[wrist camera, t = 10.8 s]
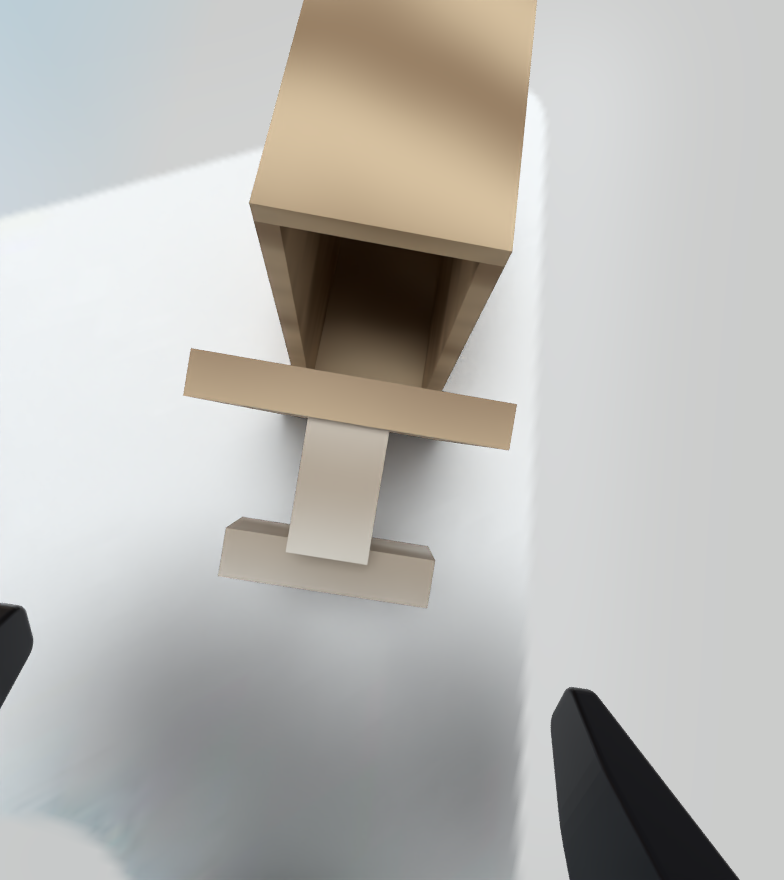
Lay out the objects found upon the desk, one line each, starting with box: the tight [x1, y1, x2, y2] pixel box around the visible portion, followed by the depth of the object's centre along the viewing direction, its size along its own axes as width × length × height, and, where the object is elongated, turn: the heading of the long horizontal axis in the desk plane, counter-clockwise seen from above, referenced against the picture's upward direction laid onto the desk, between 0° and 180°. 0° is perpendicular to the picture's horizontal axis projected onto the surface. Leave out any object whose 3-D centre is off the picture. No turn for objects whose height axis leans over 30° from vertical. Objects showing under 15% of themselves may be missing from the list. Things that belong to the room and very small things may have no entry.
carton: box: [249, 0, 537, 391], centre depth 19 cm, size 9×6×12 cm, turn 171°
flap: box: [183, 348, 517, 608], centre depth 17 cm, size 5×7×11 cm
